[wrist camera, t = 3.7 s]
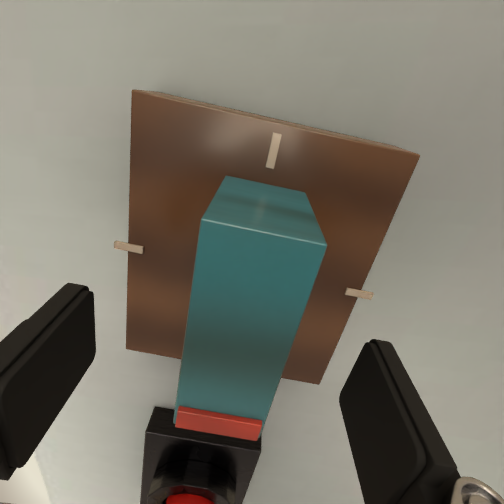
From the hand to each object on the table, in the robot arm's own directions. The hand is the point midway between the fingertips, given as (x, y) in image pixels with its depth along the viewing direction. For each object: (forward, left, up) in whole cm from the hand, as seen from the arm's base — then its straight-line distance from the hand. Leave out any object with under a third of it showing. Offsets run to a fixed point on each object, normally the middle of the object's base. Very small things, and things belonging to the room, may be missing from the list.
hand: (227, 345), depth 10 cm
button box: (+17, +14, -8) cm, 24 cm away
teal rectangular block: (0, 0, -5) cm, 5 cm away
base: (0, 0, -8) cm, 8 cm away
